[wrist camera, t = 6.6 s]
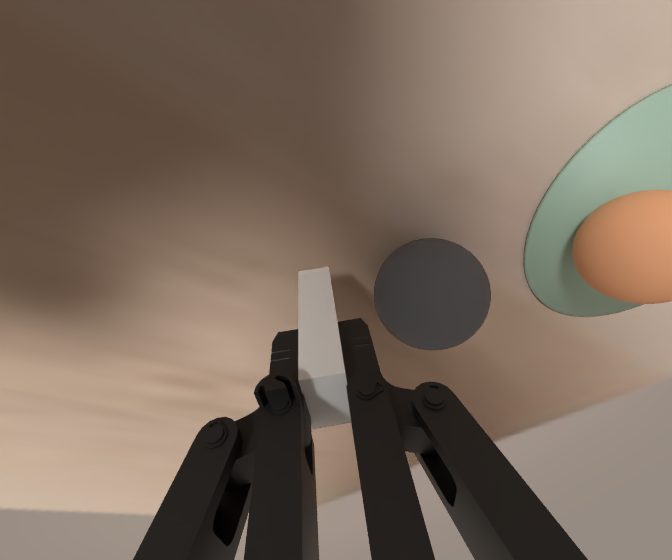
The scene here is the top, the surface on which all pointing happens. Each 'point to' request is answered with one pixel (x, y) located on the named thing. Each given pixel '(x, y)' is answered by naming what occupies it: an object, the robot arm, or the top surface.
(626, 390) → the top surface
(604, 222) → the object ball
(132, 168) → the top surface
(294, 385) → the robot arm
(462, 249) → the dark grey ball
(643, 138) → the green plate
